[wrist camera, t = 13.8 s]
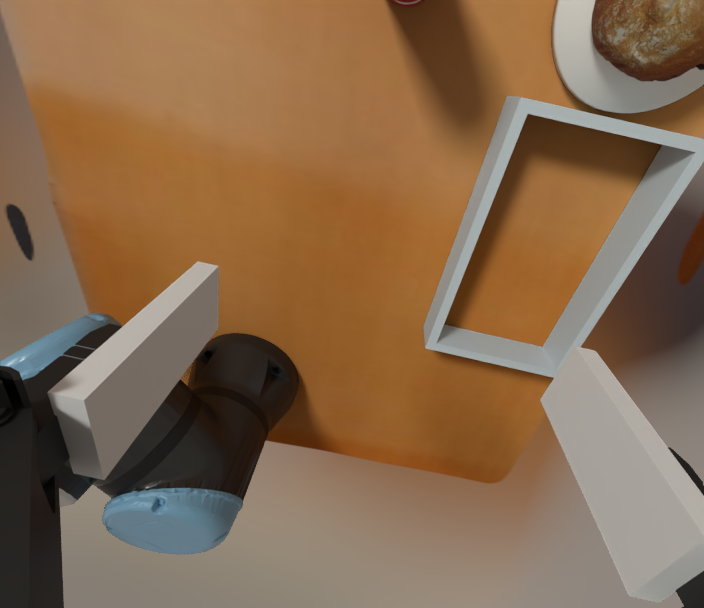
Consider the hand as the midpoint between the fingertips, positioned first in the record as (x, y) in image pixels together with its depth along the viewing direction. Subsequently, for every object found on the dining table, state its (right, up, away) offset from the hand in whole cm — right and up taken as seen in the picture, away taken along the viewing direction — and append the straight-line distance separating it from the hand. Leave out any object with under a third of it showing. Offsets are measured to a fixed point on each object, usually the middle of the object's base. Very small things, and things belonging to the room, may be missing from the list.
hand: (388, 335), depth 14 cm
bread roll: (+23, +24, +15) cm, 36 cm away
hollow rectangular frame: (+18, +7, +26) cm, 33 cm away
